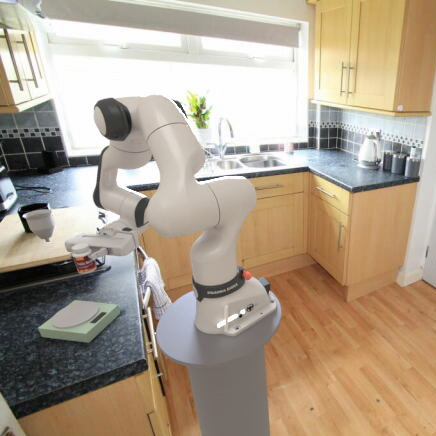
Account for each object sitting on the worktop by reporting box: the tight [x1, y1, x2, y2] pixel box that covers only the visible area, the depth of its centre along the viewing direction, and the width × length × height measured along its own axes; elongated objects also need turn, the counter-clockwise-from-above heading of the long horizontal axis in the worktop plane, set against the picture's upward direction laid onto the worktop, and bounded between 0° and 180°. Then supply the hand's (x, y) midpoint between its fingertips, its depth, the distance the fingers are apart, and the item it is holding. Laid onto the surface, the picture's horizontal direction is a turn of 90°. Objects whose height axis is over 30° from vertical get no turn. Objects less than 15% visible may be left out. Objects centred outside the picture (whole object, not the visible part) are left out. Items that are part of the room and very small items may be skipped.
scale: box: [37, 299, 121, 344], centre depth 84 cm, size 11×13×4 cm
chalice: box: [22, 209, 55, 243], centre depth 108 cm, size 7×7×18 cm
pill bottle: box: [72, 243, 97, 275], centre depth 96 cm, size 5×5×8 cm
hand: (80, 257), depth 95 cm, fingers closed on pill bottle, 5 cm apart
